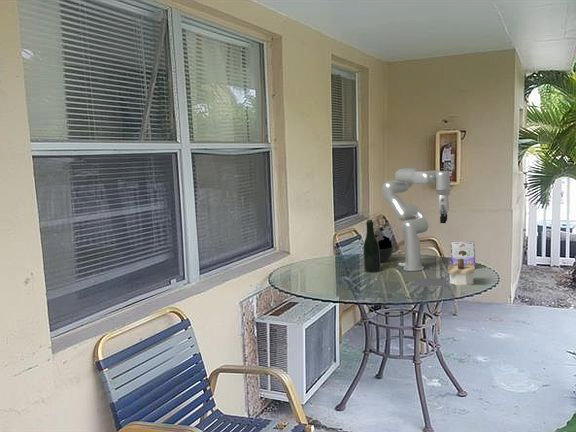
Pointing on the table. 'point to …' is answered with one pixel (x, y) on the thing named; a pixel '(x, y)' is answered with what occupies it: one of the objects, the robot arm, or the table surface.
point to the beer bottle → (371, 250)
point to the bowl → (461, 278)
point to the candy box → (463, 253)
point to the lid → (461, 268)
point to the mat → (429, 282)
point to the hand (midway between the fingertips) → (443, 221)
